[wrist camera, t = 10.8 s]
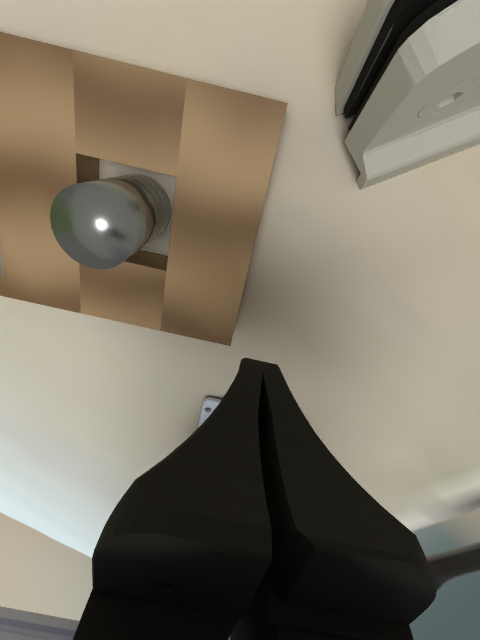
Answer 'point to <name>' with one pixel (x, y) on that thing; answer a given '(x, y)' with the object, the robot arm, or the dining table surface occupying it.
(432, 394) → the dining table surface
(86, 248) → the mottled grey cylinder
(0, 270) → the jig
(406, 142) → the grey rounded piece
